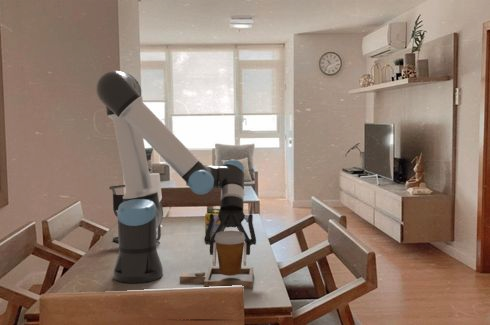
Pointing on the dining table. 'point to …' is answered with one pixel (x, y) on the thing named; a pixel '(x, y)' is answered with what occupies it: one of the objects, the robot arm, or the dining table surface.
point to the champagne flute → (156, 184)
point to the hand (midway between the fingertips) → (229, 263)
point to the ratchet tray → (219, 278)
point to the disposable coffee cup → (230, 251)
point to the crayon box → (207, 220)
